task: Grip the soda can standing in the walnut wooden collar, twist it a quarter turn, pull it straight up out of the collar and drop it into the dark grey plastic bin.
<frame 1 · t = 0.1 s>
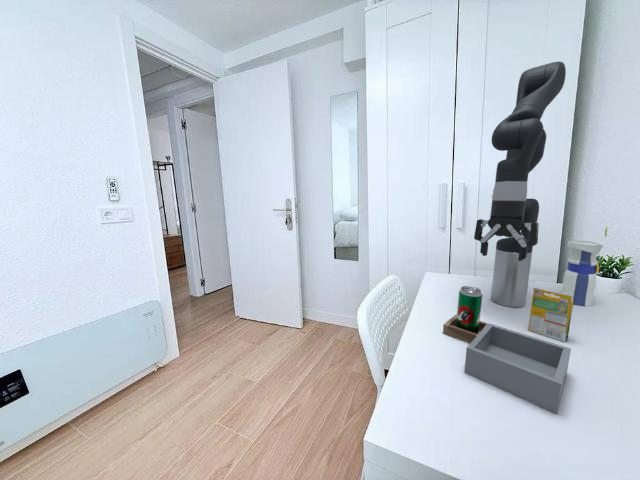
hand: (501, 257, 74), 17 cm above the table, tool pointing down, fingers open, 8 cm apart
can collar: (466, 333, 67), on the table
crayon box: (547, 334, 66), on the table
soda can: (466, 334, 67), resting in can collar
white plastic bottle: (575, 301, 85), on the table
bin: (515, 372, 53), on the table
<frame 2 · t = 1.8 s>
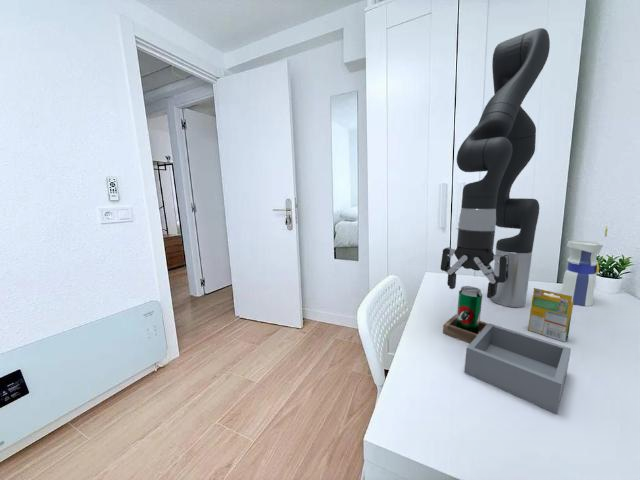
hand: (470, 292, 65), 11 cm above the table, tool pointing down, fingers open, 8 cm apart
nothing on the table moved.
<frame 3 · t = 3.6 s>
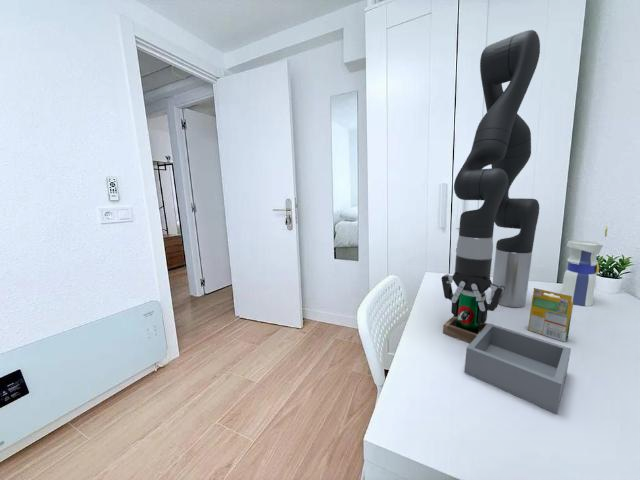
hand: (467, 319, 67), 4 cm above the table, tool pointing down, fingers closed on soda can, 5 cm apart
soda can: (466, 334, 67), resting in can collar, touching gripper
everything else where it was.
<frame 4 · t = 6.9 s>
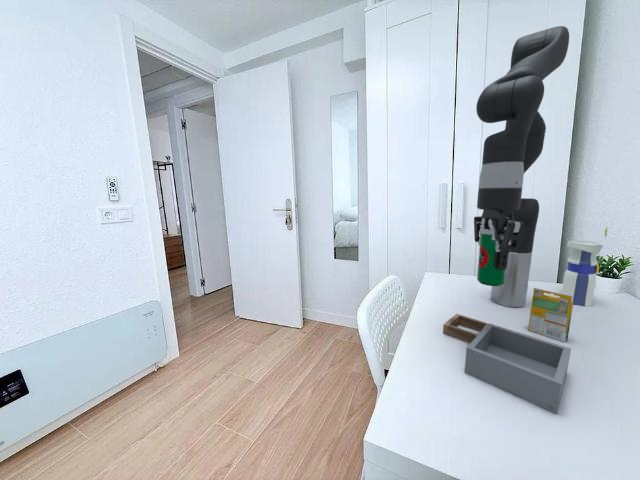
hand: (491, 265, 57), 20 cm above the table, tool pointing down, fingers closed on soda can, 5 cm apart
soda can: (490, 284, 58), point 16 cm above the table, touching gripper
everything else where it was.
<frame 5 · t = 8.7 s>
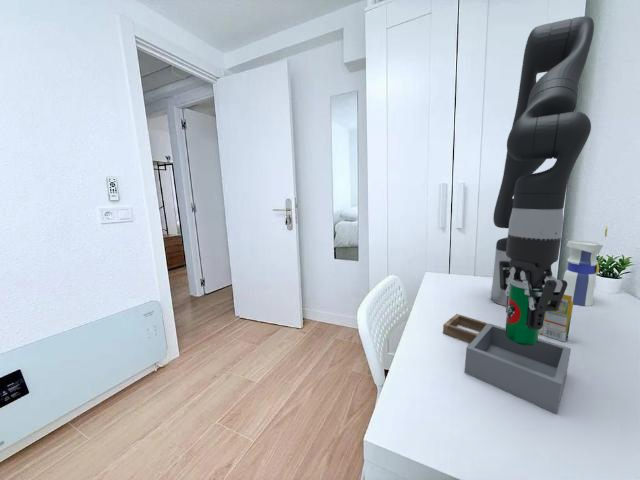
hand: (522, 320, 51), 11 cm above the table, tool pointing down, fingers closed on soda can, 5 cm apart
soda can: (520, 341, 51), point 7 cm above the table, touching gripper
everything else where it was.
when the fingers open (7 cm above the table, at t = 10.3 s): soda can drops 2 cm, resting on bin.
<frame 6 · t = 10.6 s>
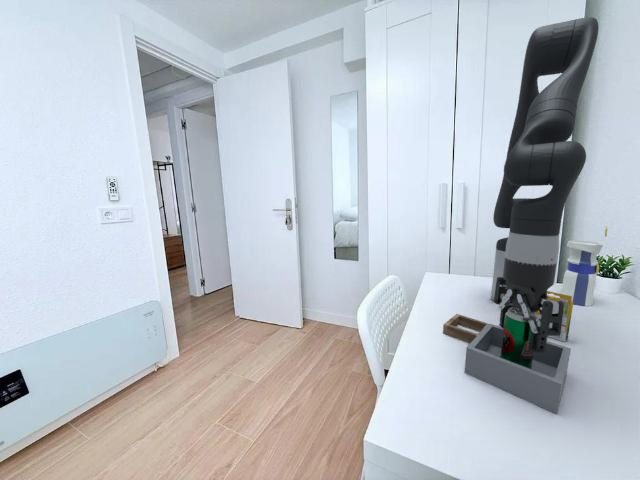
hand: (519, 338, 51), 8 cm above the table, tool pointing down, fingers open, 8 cm apart
soda can: (514, 368, 53), point 1 cm above the table, touching bin
everything else where it was.
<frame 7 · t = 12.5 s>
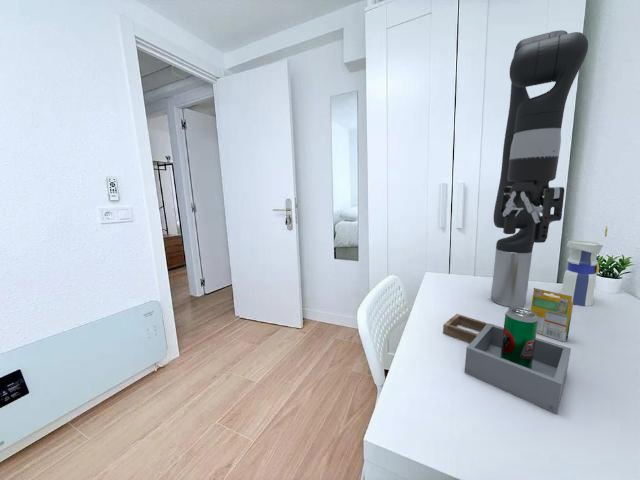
hand: (522, 237, 55), 26 cm above the table, tool pointing down, fingers open, 8 cm apart
nothing on the table moved.
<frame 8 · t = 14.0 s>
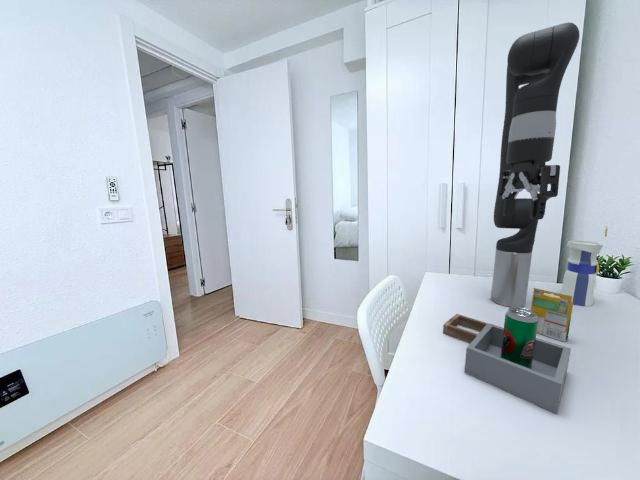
hand: (521, 217, 57), 30 cm above the table, tool pointing down, fingers open, 8 cm apart
nothing on the table moved.
at the end: soda can inside the target area on the bin (0.3 cm from its centre), point 0.8 cm above the bin's base; the gripper is holding nothing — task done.
